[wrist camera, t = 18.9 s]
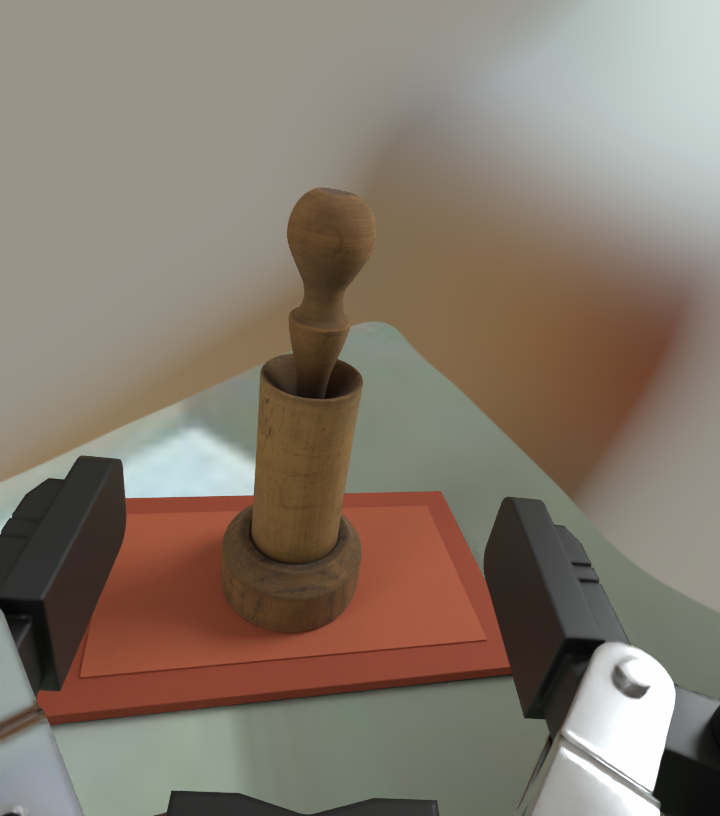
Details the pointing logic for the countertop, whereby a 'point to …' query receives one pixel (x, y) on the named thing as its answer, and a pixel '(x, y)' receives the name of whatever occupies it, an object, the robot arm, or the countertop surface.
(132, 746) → the countertop surface
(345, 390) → the mortar and pestle
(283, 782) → the countertop surface
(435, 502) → the tray
